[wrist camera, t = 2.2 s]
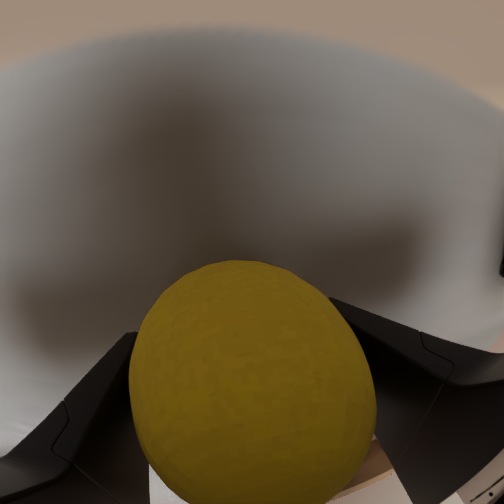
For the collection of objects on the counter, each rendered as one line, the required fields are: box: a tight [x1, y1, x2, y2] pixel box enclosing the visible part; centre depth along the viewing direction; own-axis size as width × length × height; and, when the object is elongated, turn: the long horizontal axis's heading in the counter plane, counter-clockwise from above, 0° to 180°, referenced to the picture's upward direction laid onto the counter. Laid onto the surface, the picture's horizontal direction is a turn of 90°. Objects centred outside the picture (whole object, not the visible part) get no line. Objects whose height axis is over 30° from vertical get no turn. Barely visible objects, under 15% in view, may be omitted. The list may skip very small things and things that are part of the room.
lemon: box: [129, 260, 377, 504], centre depth 7 cm, size 6×6×8 cm
